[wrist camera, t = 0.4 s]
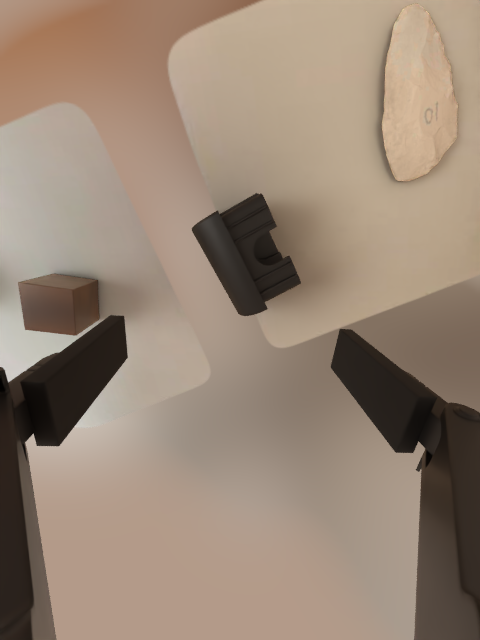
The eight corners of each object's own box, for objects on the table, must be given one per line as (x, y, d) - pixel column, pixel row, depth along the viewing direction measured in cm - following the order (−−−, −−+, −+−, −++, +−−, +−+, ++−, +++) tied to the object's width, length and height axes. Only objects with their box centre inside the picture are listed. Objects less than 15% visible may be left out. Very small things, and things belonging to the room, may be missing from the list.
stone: (382, 190, 27) (394, 188, 25) (359, 30, 22) (372, 11, 20) (454, 162, 26) (471, 157, 24) (446, -9, 21) (467, -32, 20)
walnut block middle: (52, 273, 28) (17, 282, 23) (98, 279, 28) (72, 289, 24) (56, 314, 30) (24, 329, 25) (99, 319, 30) (76, 335, 25)
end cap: (195, 228, 27) (186, 228, 21) (252, 196, 26) (260, 185, 20) (237, 304, 30) (240, 324, 24) (288, 277, 30) (305, 290, 23)
